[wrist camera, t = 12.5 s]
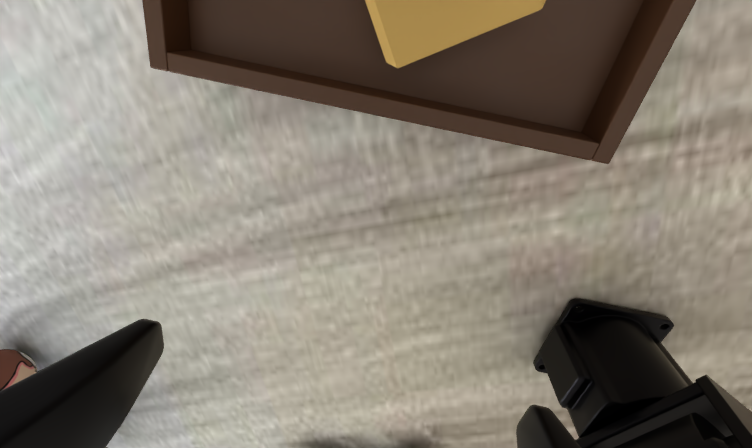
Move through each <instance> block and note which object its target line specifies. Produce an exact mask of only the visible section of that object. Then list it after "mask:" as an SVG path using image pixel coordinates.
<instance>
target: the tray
mask: <svg viewBox="0 0 752 448" xmlns="http://www.w3.org/2000/svg"><path fill="white" fill-rule="evenodd" d="M695 2H696V0H546V1H545V4H544V6H543V8H542V9H541V10H539V11H537V12H534V13H532V14H529V15H527V16H525V17H522V18H520V19H517V20H515V21H512V22H510V23H507V24H505V25H503V26H500V27H498V28H495V29H493V30H490V31H488V32H486V33H483V34H481V35H478V36H476V37H473V38H471V39H469V40H466V41H464V42H461V43H459V44H456V45H454V46H451V47H449V48H447V49H444V50H442V51H439V52H437V53H434V54H432V55H430V56H427V57H425V58H422V59H420V60H417V61H415V62H412V63H410V64H408V65H405V66H403V67H400V68H396V67H394V66H392V65H390V64H388V63H386V60H385V57H384V54H383V52H382V49H381V46H380V43H379V40H378V37H377V34H376V31H375V28H374V25H373V22H372V19H371V16H370V14H369V11H368V8H367V5H366V2H365V0H143V8H144V17H145V25H146V33H147V42H148V50H149V59H150V66H151V68H154V69H159V70H164V71H170V72H173V73H178V74H183V75H187V76H192V77H197V78H202V79H206V80H211V81H216V82H221V83H225V84H230V85H235V86H240V87H244V88H249V89H254V90H259V91H263V92H268V93H273V94H278V95H282V96H287V97H292V98H297V99H301V100H306V101H311V102H316V103H320V104H325V105H330V106H335V107H339V108H344V109H349V110H354V111H358V112H363V113H368V114H373V115H377V116H382V117H387V118H392V119H396V120H401V121H406V122H411V123H416V124H420V125H425V126H430V127H435V128H439V129H444V130H449V131H454V132H458V133H463V134H468V135H473V136H477V137H482V138H487V139H492V140H496V141H501V142H506V143H511V144H515V145H520V146H525V147H530V148H534V149H539V150H544V151H549V152H553V153H558V154H563V155H568V156H572V157H577V158H582V159H587V160H592V161H596V162H601V163H606V164H609V162H610V160H611V159H612V157H613V155H614V153H615V151H616V149H617V147H618V146H619V144H620V142H621V140H622V138H623V136H624V134H625V132H626V131H627V129H628V127H629V125H630V123H631V121H632V119H633V118H634V116H635V114H636V112H637V110H638V108H639V106H640V105H641V103H642V101H643V99H644V97H645V95H646V93H647V91H648V90H649V88H650V86H651V84H652V82H653V80H654V78H655V77H656V75H657V73H658V71H659V69H660V67H661V65H662V63H663V62H664V60H665V58H666V56H667V54H668V52H669V50H670V49H671V47H672V45H673V43H674V41H675V39H676V37H677V35H678V34H679V32H680V30H681V28H682V26H683V24H684V22H685V21H686V19H687V17H688V15H689V13H690V11H691V9H692V7H693V6H694V4H695Z"/></svg>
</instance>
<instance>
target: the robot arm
mask: <svg viewBox="0 0 752 448" xmlns="http://www.w3.org/2000/svg"><path fill="white" fill-rule="evenodd" d="M577 306H579V307H577ZM576 307H577V308H576ZM673 326H674V324H673V322H672V321H671V320H670V319H669V318H668V317H666V316H661V315H657V314H652V313H647V312H642V311H637V310H632V309H628V308H623V307H618V306H613V305H608V304H603V303H598V302H594V301H589V300H584V299H573V300H571V301H570V302H569V303H568V305H567V307H566V308H565V310H564V312H563V313H562V315H561V317H560V318H559V320H558V322H557V323H556V325H555V326H554V327H553V329H552V331H551V332H550V334H549V336H548V337H547V339H546V341H545V342H544V344H543V346H542V347H541V349H540V351H539V353H538V355H537V357H536V358H535V360H534V362H533V363H534V366H535V369H536V370H537V371H539V372H543V373H548V376H549V378H550V381H551V383H552V386H553V388H554V391H555V394H556V396H557V399H558V401H559V403H560V405H561V406H562V407H563V408H567V409H568V412H569V414H570V417H571V419H572V422H573V424H574V426H575V429H576V431H577V434H578V436H579V438H578V439H576V440H575V439H574V438H573V437H572V436H571V434H570V433H569V432H568V431H567V429H566V428H565V427H564V426H563V424H562V423H561V422H560V420H559V419H558V418H557V417H556V415H555V414H554V413H553V412H552V411H551V410H550V409H549V408H546V407H542V406H537V405H531V406H530V407H529V408H528V409H527V411H526V412H525V414H524V415H523V417H522V418H521V420H520V421H519V423H518V425H517V431H516V435H517V446H518V448H752V412H751V411H750V410H749V409H747V408H746V407H745V406H744V405H743V404H741V403H740V402H739V401H738V400H737V399H735V398H734V397H733V396H732V395H730V394H729V393H728V392H727V391H726V390H724V389H723V388H722V387H721V386H719V385H718V384H717V383H716V382H715V381H713V380H712V379H711V378H710V377H709V376H707V375H705V376H702V377H700V378H698V379H696V380H695V381H696V382H695V383H692V381H691V380H690V379H689V378H688V376H687V375H686V374H685V373H684V371H683V370H682V369H681V368H680V366H679V365H678V364H677V363H676V361H675V360H674V359H673V358H672V356H671V355H670V354H669V352H668V351H667V350H666V349H665V347H664V346H663V345H662V344H661V341H662V340H663V339H664V338H665V337H666V335H667V334H668V333H669V332H670V331H671V329H672V328H673ZM163 349H164V342H163V334H162V327H161V324H160V323H159V322H157V321H152V320H148V319H141V320H138V321H136V322H134V323H132V324H130V325H128V326H126V327H124V328H122V329H120V330H118V331H116V332H114V333H112V334H110V335H108V336H106V337H105V338H103V339H101V340H99V341H97V342H95V343H93V344H91V345H89V346H87V347H85V348H83V349H81V350H79V351H77V352H75V353H73V354H72V355H70V356H68V357H66V358H64V359H62V360H60V361H58V362H56V363H54V364H52V365H50V366H48V367H46V368H44V369H42V370H40V371H38V372H37V373H35V374H33V375H31V376H29V377H27V378H25V379H23V380H21V381H19V382H17V383H15V384H13V385H11V386H9V387H7V388H5V389H4V390H2V391H0V448H105V447H106V446H107V444H108V443H109V441H110V440H111V439H112V437H113V436H114V434H115V433H116V431H117V430H118V428H119V427H120V425H121V424H122V422H123V421H124V419H125V418H126V416H127V415H128V413H129V411H130V410H131V408H132V406H133V404H134V403H135V401H136V399H137V397H138V396H139V394H140V392H141V390H142V389H143V387H144V385H145V383H146V381H147V380H148V378H149V376H150V374H151V373H152V371H153V369H154V367H155V366H156V364H157V362H158V360H159V359H160V357H161V355H162V352H163Z"/></svg>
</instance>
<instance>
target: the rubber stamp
mask: <svg viewBox="0 0 752 448" xmlns="http://www.w3.org/2000/svg"><path fill="white" fill-rule="evenodd" d="M545 1H546V0H365V2H366V5H367V8H368V11H369V14H370V16H371V19H372V22H373V25H374V28H375V31H376V34H377V37H378V40H379V43H380V46H381V49H382V52H383V54H384V57H385V60H386V63H388V64H390V65H392V66H394V67H396V68H400V67H403V66H405V65H408V64H410V63H412V62H415V61H417V60H420V59H422V58H425V57H427V56H430V55H432V54H434V53H437V52H439V51H442V50H444V49H447V48H449V47H451V46H454V45H456V44H459V43H461V42H464V41H466V40H469V39H471V38H473V37H476V36H478V35H481V34H483V33H486V32H488V31H490V30H493V29H495V28H498V27H500V26H503V25H505V24H507V23H510V22H512V21H515V20H517V19H520V18H522V17H525V16H527V15H529V14H532V13H534V12H537V11H539V10H541V9H542V8H543V6H544V4H545Z"/></svg>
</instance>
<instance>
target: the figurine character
mask: <svg viewBox="0 0 752 448" xmlns="http://www.w3.org/2000/svg"><path fill="white" fill-rule="evenodd" d="M35 373H37V368H36V365H35V363H34V361H33V360H32V359H31V358H30V357H29V356H28V355H26V354H24V353H22V352H19V351H16V350H8V349H3V350H0V391H2V390H4V389H5V388H7V387H9V386H11V385H13V384H15V383H17V382H19V381H21V380H23V379H25V378H27V377H29V376H31V375H33V374H35ZM105 448H107V447H105Z"/></svg>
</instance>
